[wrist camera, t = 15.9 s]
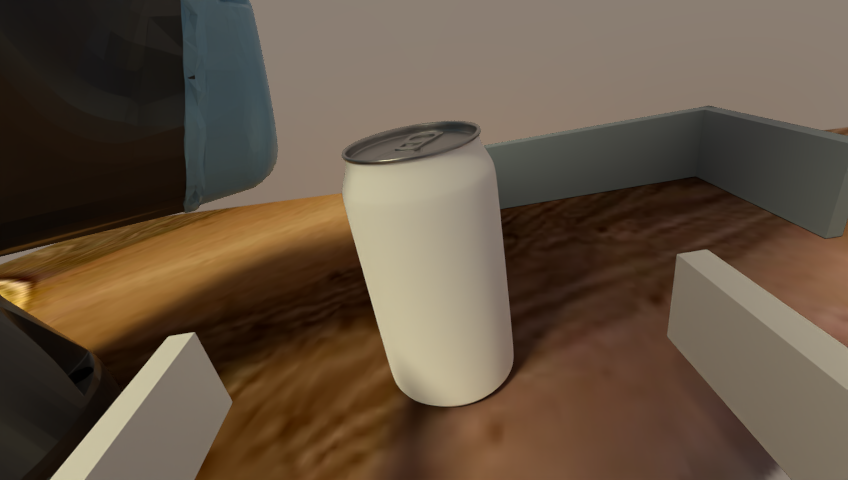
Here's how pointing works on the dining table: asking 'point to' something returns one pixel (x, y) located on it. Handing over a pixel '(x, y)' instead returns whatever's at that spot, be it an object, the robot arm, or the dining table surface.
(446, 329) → the can
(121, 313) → the dining table surface
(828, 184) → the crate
